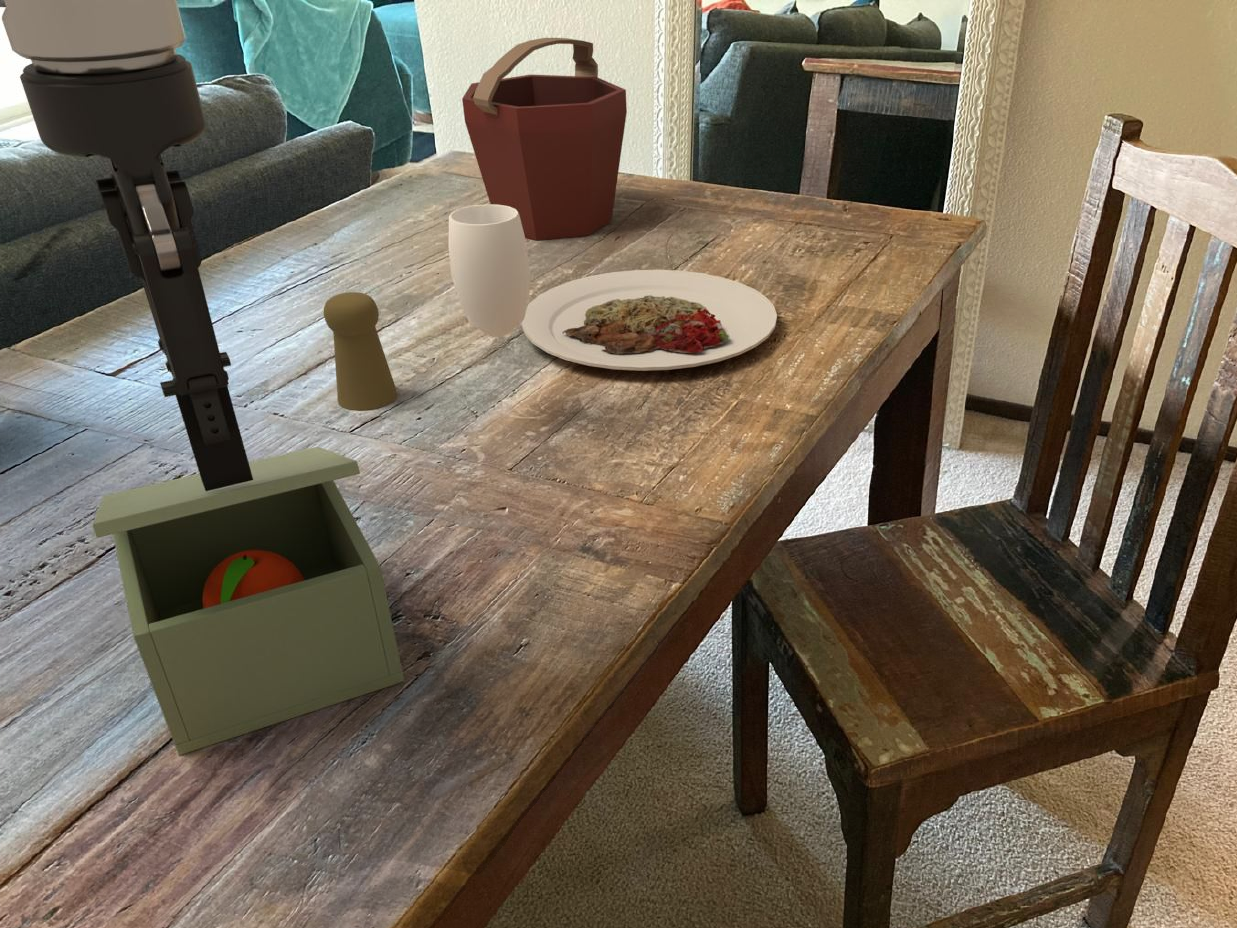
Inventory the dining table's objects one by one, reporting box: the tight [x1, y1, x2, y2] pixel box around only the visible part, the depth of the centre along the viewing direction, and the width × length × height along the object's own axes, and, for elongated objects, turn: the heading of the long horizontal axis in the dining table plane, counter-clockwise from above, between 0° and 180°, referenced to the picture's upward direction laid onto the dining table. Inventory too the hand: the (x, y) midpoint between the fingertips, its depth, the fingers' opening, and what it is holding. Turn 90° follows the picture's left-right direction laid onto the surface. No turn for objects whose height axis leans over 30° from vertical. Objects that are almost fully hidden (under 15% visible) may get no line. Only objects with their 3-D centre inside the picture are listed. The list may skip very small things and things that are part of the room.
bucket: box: [461, 37, 628, 241], centre depth 156 cm, size 24×22×25 cm
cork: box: [323, 291, 399, 411], centre depth 111 cm, size 6×6×11 cm
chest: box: [112, 480, 405, 756], centre depth 77 cm, size 17×15×10 cm
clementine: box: [202, 550, 305, 608], centre depth 77 cm, size 8×7×7 cm
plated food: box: [520, 269, 778, 372], centre depth 129 cm, size 30×30×3 cm
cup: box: [447, 203, 531, 338], centre depth 105 cm, size 7×7×21 cm
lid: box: [91, 446, 361, 539], centre depth 72 cm, size 18×15×1 cm
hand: (227, 479), depth 66 cm, fingers closed
